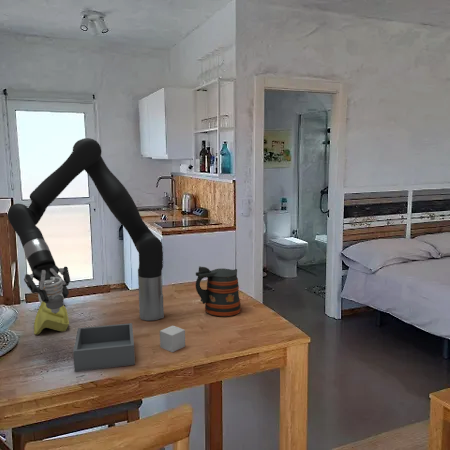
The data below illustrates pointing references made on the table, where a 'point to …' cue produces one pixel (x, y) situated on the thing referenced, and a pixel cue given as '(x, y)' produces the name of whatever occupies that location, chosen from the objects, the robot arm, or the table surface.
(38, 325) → the plastic component
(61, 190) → the robot arm
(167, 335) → the light grey cube
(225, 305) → the beer stein
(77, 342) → the bin
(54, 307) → the light bulb
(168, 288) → the table surface
